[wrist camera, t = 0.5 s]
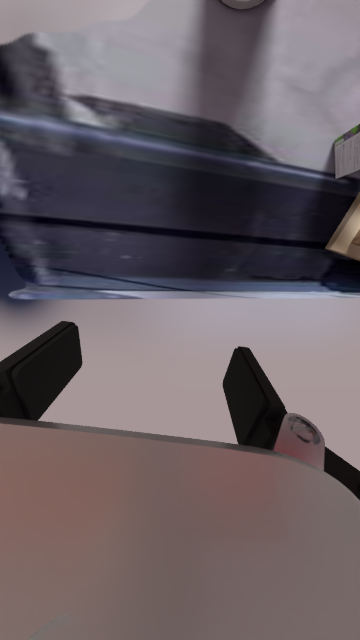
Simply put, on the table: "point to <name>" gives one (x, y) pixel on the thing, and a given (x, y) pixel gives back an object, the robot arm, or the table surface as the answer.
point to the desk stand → (348, 233)
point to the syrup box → (347, 153)
